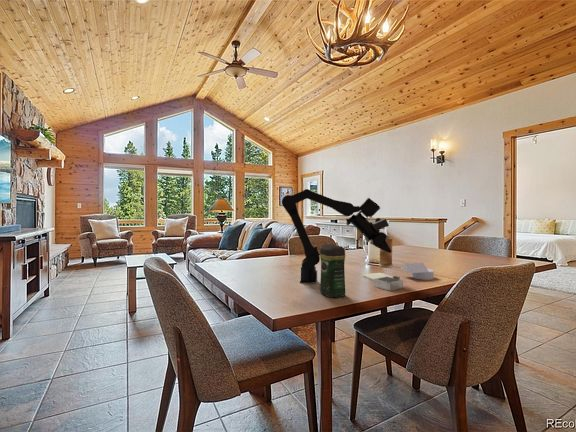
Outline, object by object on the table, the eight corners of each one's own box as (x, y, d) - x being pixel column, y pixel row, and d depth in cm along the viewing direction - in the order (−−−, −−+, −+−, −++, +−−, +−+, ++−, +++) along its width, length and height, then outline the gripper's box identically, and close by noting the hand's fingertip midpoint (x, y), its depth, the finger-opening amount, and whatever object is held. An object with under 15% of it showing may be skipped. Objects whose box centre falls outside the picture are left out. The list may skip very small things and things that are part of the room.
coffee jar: (349, 296, 108) (349, 245, 108) (330, 299, 105) (330, 247, 104) (334, 289, 117) (334, 242, 116) (317, 292, 114) (316, 243, 113)
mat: (375, 281, 130) (375, 279, 130) (361, 275, 140) (361, 274, 140) (396, 279, 134) (396, 277, 134) (380, 273, 144) (380, 272, 144)
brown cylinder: (381, 267, 125) (381, 236, 124) (377, 265, 130) (377, 235, 130) (394, 267, 125) (395, 236, 124) (390, 265, 130) (390, 235, 130)
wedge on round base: (411, 280, 131) (438, 279, 133) (411, 265, 131) (438, 264, 133) (400, 276, 140) (425, 274, 142) (400, 261, 140) (425, 260, 142)
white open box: (389, 290, 115) (389, 281, 115) (373, 286, 122) (373, 277, 122) (406, 287, 120) (406, 278, 120) (389, 282, 127) (389, 274, 127)
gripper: (381, 212, 118) (410, 240, 117) (372, 211, 137) (396, 235, 136) (361, 232, 119) (389, 260, 118) (354, 228, 137) (379, 252, 137)
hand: (389, 251), depth 127 cm, fingers closed on brown cylinder, 5 cm apart
